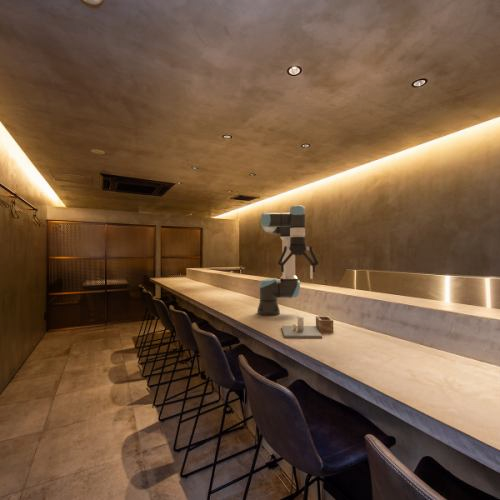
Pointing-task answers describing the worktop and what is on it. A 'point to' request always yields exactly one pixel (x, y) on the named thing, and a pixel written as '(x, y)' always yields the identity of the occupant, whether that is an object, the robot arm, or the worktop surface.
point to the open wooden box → (324, 324)
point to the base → (299, 333)
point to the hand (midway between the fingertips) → (297, 278)
